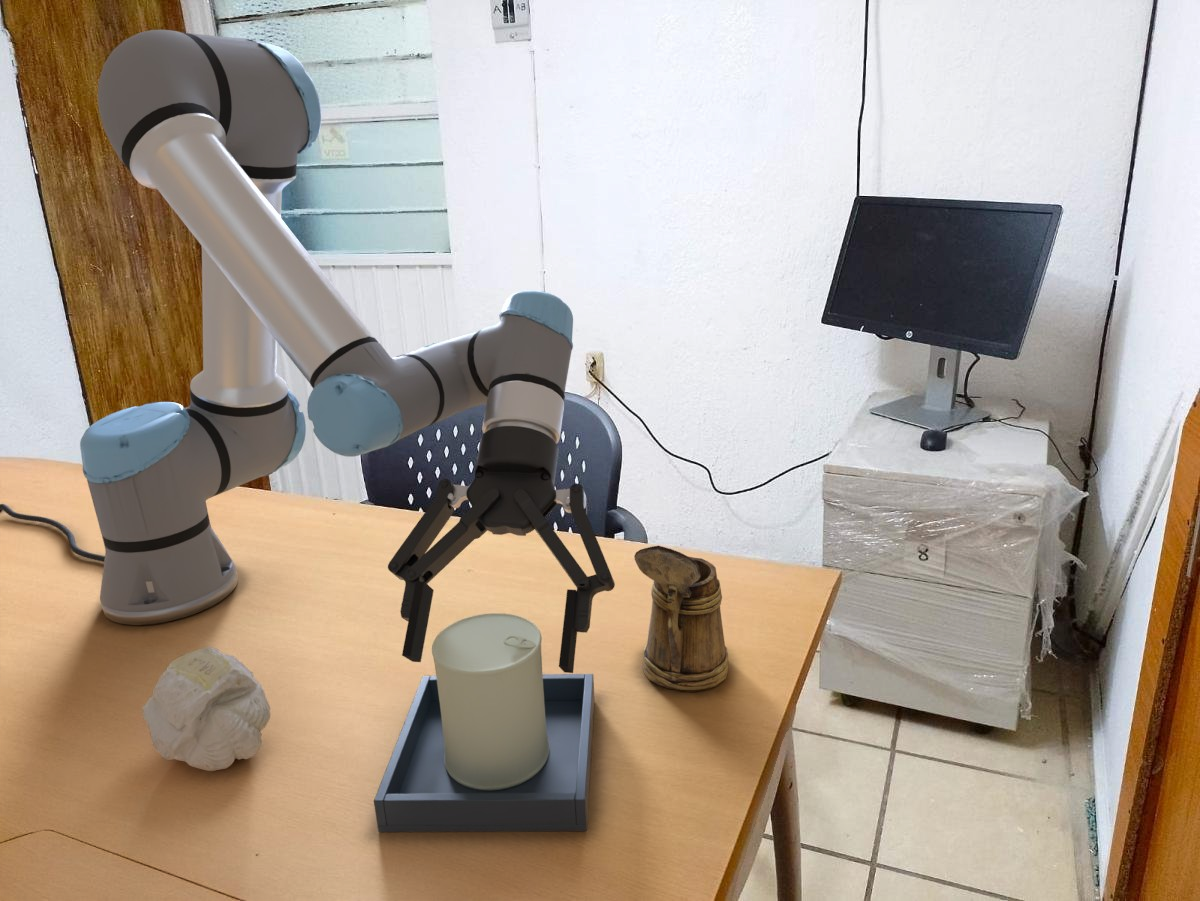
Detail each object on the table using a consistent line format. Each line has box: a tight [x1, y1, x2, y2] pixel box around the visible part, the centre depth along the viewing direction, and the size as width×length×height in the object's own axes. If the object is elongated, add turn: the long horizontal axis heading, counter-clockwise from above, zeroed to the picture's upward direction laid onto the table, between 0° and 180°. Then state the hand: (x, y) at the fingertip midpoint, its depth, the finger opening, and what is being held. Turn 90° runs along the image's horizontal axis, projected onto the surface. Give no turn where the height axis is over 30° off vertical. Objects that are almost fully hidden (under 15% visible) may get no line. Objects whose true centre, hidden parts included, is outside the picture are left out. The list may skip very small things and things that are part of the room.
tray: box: [373, 673, 596, 833], centre depth 73 cm, size 17×17×3 cm
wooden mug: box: [633, 545, 729, 693], centre depth 80 cm, size 9×14×18 cm, turn 159°
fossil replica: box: [141, 646, 271, 772], centre depth 75 cm, size 12×8×10 cm
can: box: [431, 612, 550, 791], centre depth 71 cm, size 9×9×12 cm
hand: (487, 664), depth 70 cm, fingers open, 13 cm apart
